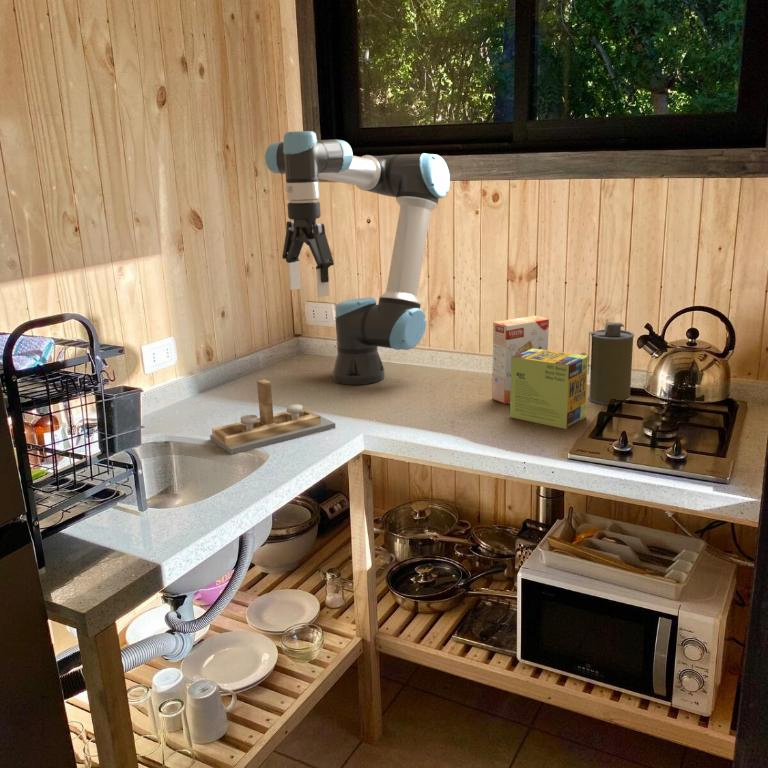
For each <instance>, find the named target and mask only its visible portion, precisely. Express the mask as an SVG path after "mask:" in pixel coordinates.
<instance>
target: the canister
mask: <svg viewBox="0 0 768 768" xmlns="http://www.w3.org/2000/svg"><path fill="white" fill-rule="evenodd" d="M622 327H623V328H624V327H625V325H624V323H623V322H611V321H610V322H606V323H605V327H604V329H597V330H595V331H589V333H588V335H589V336H588V350H587V351H588V355H587V356H588V363H587V375H589V373H590V376H589V377H590V378H589V396H588V400H589V401H590V402H592V403H593V404H597V405H602V406H609V405H608V403H609V401H610V400H611V399H616V400H624V399H628V398H629V397H630V398H631V383H632V366H633V365H632V364H633V352H634V351H633V347H634V337H635V334H634V333H633V332H631V331H630V330H625V329H624V330H623V329H621V328H622ZM590 341H591V342H590ZM590 348H591V351H590ZM590 352H591V353H590ZM589 367H590V368H589ZM589 370H590V371H589Z"/></svg>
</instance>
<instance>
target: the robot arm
mask: <svg viewBox="0 0 768 768" xmlns="http://www.w3.org/2000/svg"><path fill="white" fill-rule="evenodd" d="M264 161H265V165H266V167H267V169H268V170H269V171H270V172H272V173H274V174H280V175H285V182H286V185H285V186H286V187H285V191H286V200H287V201H289V202H287V204H286V205H287V217H288V219H289V221H286V232H285V237H284V244H283V251H282V259H283V260H285V262H286V263H287V267H288V283H289V290H290V291H292V290H293V291H294V290H299V289H301V288H302V286H301V285H302V283H301V268H300V262H299V261H300V257H299V256H300V254H301V251H302V248H303V246H304V243H305V245H306V246H308V247H309V250H310V252H311V253H312V257H313V258H314V261H315V263H316V267H315V270H316V271H315V272H316V289H317V290H316V291H317V297H318V298H323V297H330V282H329V281H330V280H329V279H330V278H329V268H330V267H331V266H334V265H335V264H334V263H335V262H334V258H333V256H332V252H331V249H330V246H329V241H328V238H327V235H326V229H325V224H324V223H317V219H320V218H321V203H320V201H318V200H319V199H320V198H321V197H320V193H321V192H320V182H319V179H320V180H325V181H330V182H335V183H341V184H342V183H343V184H348V185H352V186H356V187H357V188H358V189H359V190H361V191H366V192H370V193H373V194H379V195H381V196H386V197H390V198H391V197H392V198H395V201H396V203H397V204H398V205H399V212H398V213H399V214H398V217H397V218H398V219H397V224H396V225H397V226H396V229H395V230H396V231H395V236H394V241H393V242H394V243H393V249H392V254H391V260H390V266H389V271H388V277H387V284H386V288H385V289H386V291H385V292H384V293H382V294H381V295H380V296H379V298H378V303H377V300H376V298H375V297H361V298H360V297H359V298H353V299H348V300H344V301H341V302H339V303H337V304H336V305H335V316H334V319H335V332H336V334H335V335H336V347H337V354H336V357H335V361H334V365H333V369H332V380H333V382H335V383H338V384H343V385H350V386H351V385H352V386H353V385H354V386H356V385H357V386H358V385H367V384H373V383H377V382H380V381H382V380H384V379H385V375H386V374H385V367H384V364H383V362H382V360H381V357H380V354H379V349H378V347H380V348H387V349H393V350H396V351H400V350H404V351H407V350H408V351H409V350H412V349H414V348H416V347H417V345H419V344H420V342H421V340H422V339H423V338H424V335H425V333H426V328H427V319H426V314H425V313H424V310H422V309H421V305H422V303H421V302H420V300H419V298H418V297H417V295H418V291H419V285H420V284H419V283H420V278H421V277H420V276H421V272H422V266H423V261H424V255H425V249H426V242H427V236H428V232H429V231H428V230H429V226H430V219H431V213H432V212H433V211H434V210H436V208H437V207H438V203H439V200H440V199H442V198H444V197H445V196H446V195H447V194H448V192H449V190H450V185H451V183H450V182H451V178H450V177H451V176H450V171H449V167H448V165H447V163H446V161H445V160H444V158H443V157H442V156H440V155H439V154H436V153H435V154H434V153H425V152H423V153H412V154H388V155H387V154H386V155H369V154H365V155H362V156H357V155H354V154H353V149H352V147H351V145H350V143H348V142H347V141H345V140H342V139H337V138H335V139H322V140H321V139H320V140H318V139H317V134H316V132H315V131H313V130H305V131H304V130H303V131H301V130H300V131H296V130H295V131H287V132H285V133H284V135H283V141H277V142H272V143H271V144H269V145H268V146H267V148H266V150H265V154H264ZM301 290H302V289H301Z"/></svg>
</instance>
